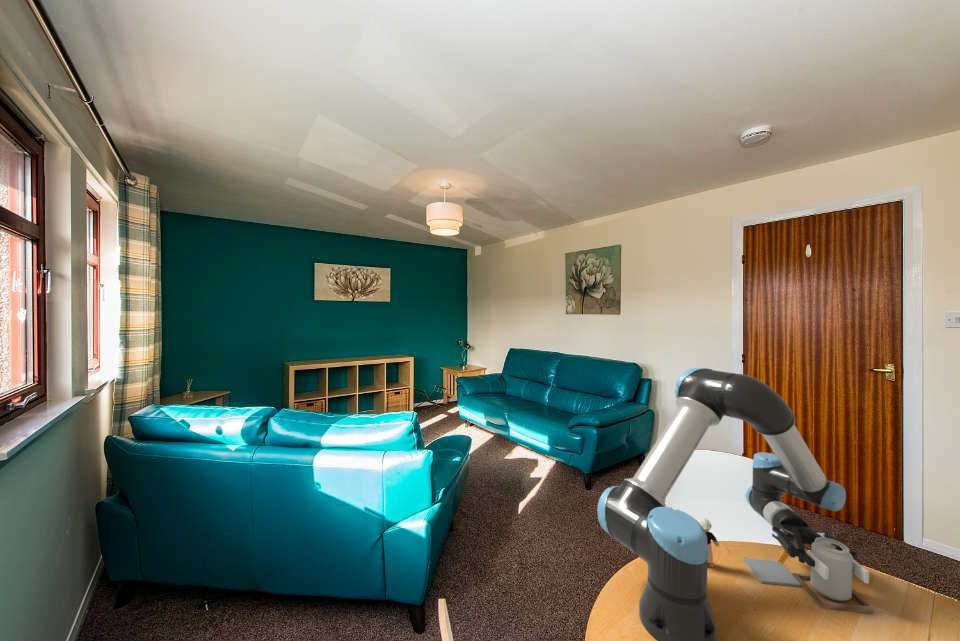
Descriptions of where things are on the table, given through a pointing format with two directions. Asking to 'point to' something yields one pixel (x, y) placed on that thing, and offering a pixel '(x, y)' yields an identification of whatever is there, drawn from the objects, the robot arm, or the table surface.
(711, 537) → the grandmother figurine
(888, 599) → the table surface
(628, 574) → the table surface
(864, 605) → the brown square frame
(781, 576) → the coaster
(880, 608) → the table surface
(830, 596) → the can
